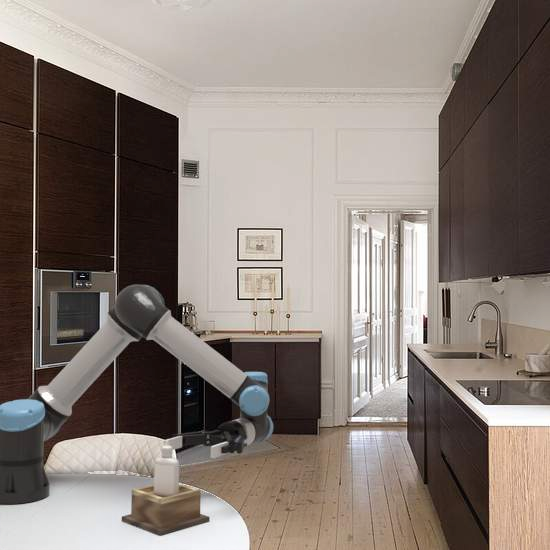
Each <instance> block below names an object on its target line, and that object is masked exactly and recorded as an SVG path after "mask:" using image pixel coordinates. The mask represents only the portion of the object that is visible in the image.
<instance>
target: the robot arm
mask: <svg viewBox="0 0 550 550" xmlns="http://www.w3.org/2000/svg"><path fill="white" fill-rule="evenodd" d="M171 312H172V311H171V310H170V309H169V308H168V307H166V306H165V299H164V297H163V296H162V294H161V293H160V292H159V291H158V290H157V289H156V288H155V287H153V286H150V285H147V284H132V285H128V286H126V287H125V288H123V289H122V290H121V291H120V292H119V293H118V295H117V296H116V297H115V303H114V305H113V306H111V308H110V310H108V312H107V314H106V316H107V318H106V320H107V321H106V322H104V324H103V325H102V326H101V327H100V328H99V330H98V331H97V332H96V333H95V334H94V335H93V336H92V337H91V338H90V339H89V341H88V342H87V343H86V344H84V345H83V346H82V348H81V349H80V350H79V351H78V352H77V353H76V354H75V355H74V356H73V358H71V360H70V361H69V362H68V363H67V364H66V365H65V367H63V368H62V370H61V371H60V372H59V373H58V374H57V375H56V376H55V377H54V378H52V380H51V381H50V383H48V385H40V386H38V388H36V389H35V390H34V391H33V393H32V394H31V395H30V396H29V397H28V398H25V399H14V400H12V401H7V402H4V403H1V404H0V505H14V504H15V505H17V504H26V503H33V502H35V501H36V502H37V501H40V500H43V499H45V498H47V497H48V496H49V495H50V482H49V478H48V476H47V472H46V469H45V467H44V466H45V465H44V442H46V441H48V440H50V439H51V438H53V437H54V436H56V434H57V433H59V431H60V429H61V428H62V426H63V424H65V422H66V421H67V420H68V419H69V418H70V417H71V415H72V414H73V409H72V407H73V405H74V404H75V402H77V401H78V400H79V398H81V396H82V395H83V394H84V393H85V392H86V391H87V390H88V388H90V386H92V384H93V383H94V382H95V381H96V380H97V379H98V378H99V377H100V376H101V374H102V373H103V372H104V371H105V370H106V369H107V368H108V367H109V366H110V365H111V364H112V363H113V361H114V360H115V359H116V358H117V357H118V356H119V355H120V354H121V353H122V352H123V351H124V350H125V349H126V348H127V347H128V345H129V344H130V343H133V342H139V341H140V340H141V339H142V338H144V339H146V341H150V340H153V341H154V342H156V343H157V344H159V345H160V346H161V347H162V348H163V349H165V350H166V351H167V352H169V353H170V354H171V355H173V356H174V357H175V358H177V360H179V361H181V362H182V363H183V364H184V365H186V367H188V368H190V369H191V370H192V371H193V372H194V373H196V374H197V375H199V376H200V377H201V378H203V379H204V380H205V381H206V382H208V383H209V384H210V385H211V386H213V387H214V388H216V389H217V390H218V391H220V392H221V393H222V394H223V395H224V396H226V397H227V398H228V399H230V400H231V401H232V402H233V403H234V404H236V405H237V406H238V407H239V408H240V409H239V414H240V415H239V418H237V419H233V420H230V421H226V422H222V423H221V424H220V425H219V426H218V427H217V429H216V430H213V431H207V430H204V429H203V430H200V431H192V432H185V433H184V432H183V433H174V434H172V437H171V438H167V439H164V440H163V446H164V445H165V442H166V441H169V445H170V446H172V451H174V450H180V449H181V448H183V447H184V446H200V445H202V446H205V447H210V459H216V458H218V457H221V456H224V455H227V454H234V453H235V452H236V454H239V455H240V454H242V453H243V452H244V448H245V447H248V446H250V445H253V444H259V443H262V442H263V441H265V440H267V439H269V438H270V436H271V435H272V434H273V431H274V422H273V421H272V418H271V416H270V415H268V408H269V404H270V394H269V392H268V389H269V388H268V386H269V382H268V381H269V380H268V374H267V373H266V372H263V371H245V372H243V370H241V369H240V368H238V367H237V366H236V365H234V363H232V362H231V361H229V360H228V359H227V358H225V357H224V355H222V354H221V353H220V352H218V351H216V350H215V349H214V348H213V347H211V346H210V345H209V344H207V343H206V342H205V341H203V340H202V339H201V338H200V337H199V336H198V335H196V334H194V333H193V332H192V331H191V330H190V329H189V328H187V327H186V326H185V325H183V324H182V323H181V322H180V321H178V320H176V319H175V318H174V317H173V316H172V313H171Z"/></svg>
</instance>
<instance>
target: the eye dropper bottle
mask: <svg viewBox="0 0 550 550" xmlns="http://www.w3.org/2000/svg"><path fill="white" fill-rule="evenodd" d="M153 464H154V466H153V467H154V468H153V485H154V493H155V494H156V495H160V496H172V495H176V494H178V493H179V484H180V461H179V460H178V459H177V458H175V457H173V450H172V446H170V445H169V441H166V442H165V445H164V444H163V446H161V457H158V458H156V459H155V461H154V463H153Z"/></svg>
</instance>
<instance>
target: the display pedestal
mask: <svg viewBox="0 0 550 550" xmlns="http://www.w3.org/2000/svg"><path fill="white" fill-rule="evenodd" d="M201 499H202V497H201V489H198V488H195V487H192V486H189V485H188V486H187V485H185V484H181V483H179V493H178V494H176V495H172V496H160V495H156V494H155V493H154V484H152V485H151V484H150V485H147V486H143V487H137V488H133V489H131V504H130V505H131V506H130V507H131V508H130V509H131V510H130V514H126V515H123V516H121V522H123V523H125V522H126V524H128V525H131V526H134V527H136V528H138V527H139V528H138V529H141V528H142V529H141V530H144V531H146V532H149V533H152V534H154V535H158V536H159V537H160V536H163V535H167V534H168V535H169V534H171V533H175V532H177V531H178V532H179V531H181V530H184V529H188V528H191V527H194V526H198V525H202V524H204V523H208V522H210V515H209V516H208V515H205V514H203V513H201Z"/></svg>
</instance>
